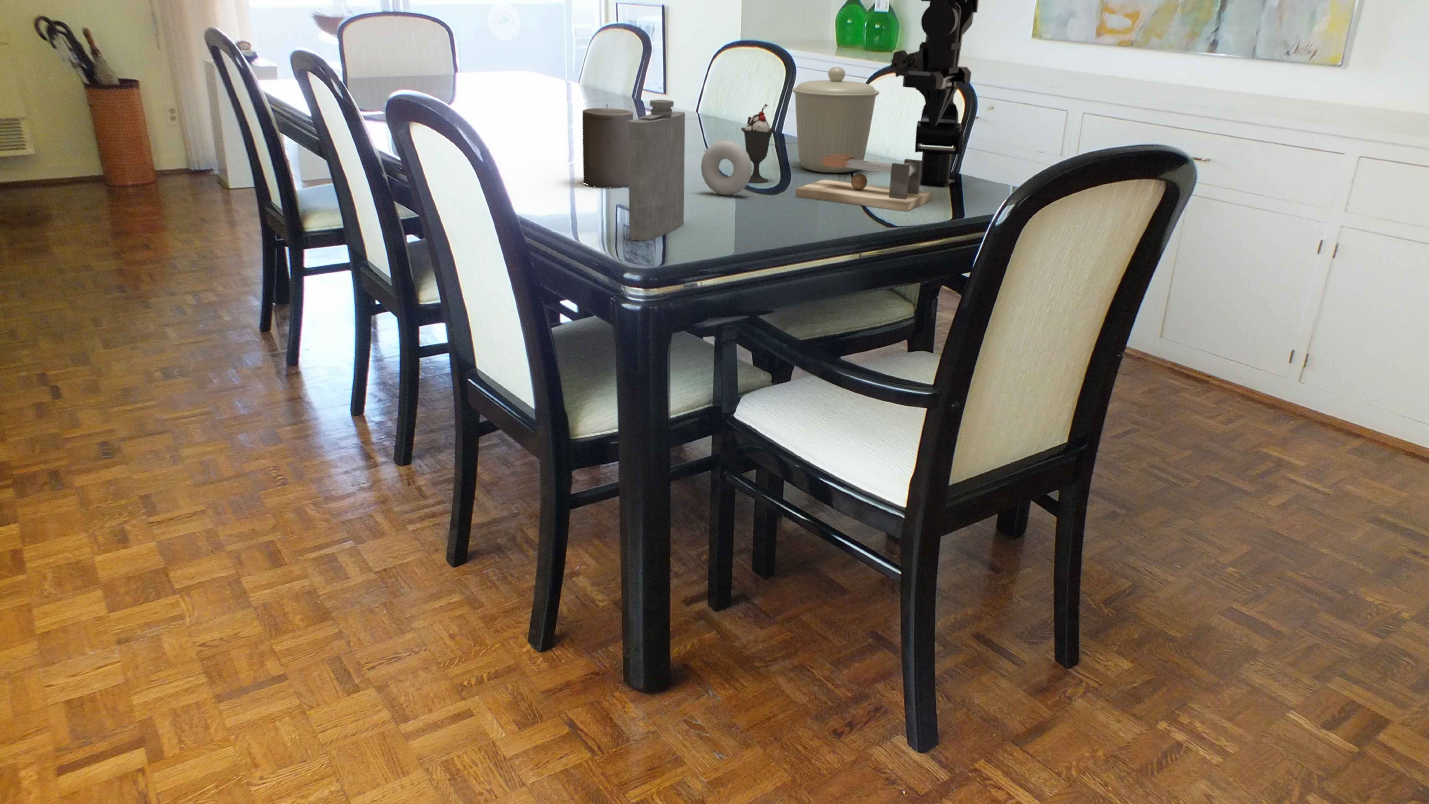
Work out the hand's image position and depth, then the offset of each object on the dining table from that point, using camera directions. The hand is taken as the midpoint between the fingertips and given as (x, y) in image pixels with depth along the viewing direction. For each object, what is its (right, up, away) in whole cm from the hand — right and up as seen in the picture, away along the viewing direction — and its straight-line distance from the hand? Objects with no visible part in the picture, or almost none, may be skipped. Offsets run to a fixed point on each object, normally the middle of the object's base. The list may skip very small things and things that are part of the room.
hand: (933, 126), depth 191 cm
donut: (-38, -13, +1) cm, 40 cm away
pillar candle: (-61, -9, +10) cm, 62 cm away
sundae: (-32, -7, +16) cm, 37 cm away
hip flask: (-49, -24, -27) cm, 61 cm away
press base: (-13, -13, +1) cm, 18 cm away
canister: (-16, -1, +31) cm, 35 cm away
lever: (-12, -9, -1) cm, 15 cm away
